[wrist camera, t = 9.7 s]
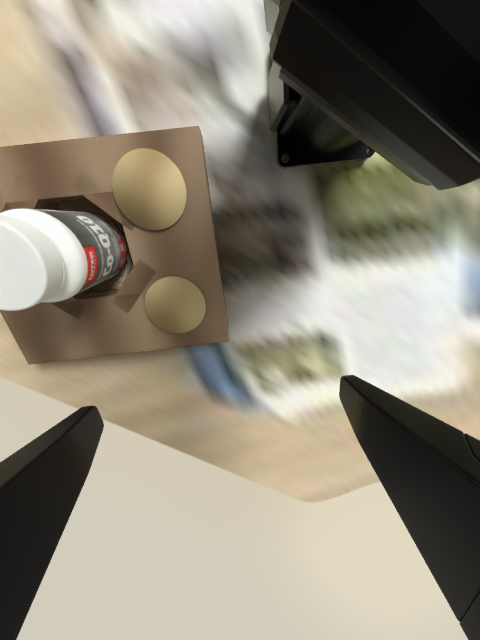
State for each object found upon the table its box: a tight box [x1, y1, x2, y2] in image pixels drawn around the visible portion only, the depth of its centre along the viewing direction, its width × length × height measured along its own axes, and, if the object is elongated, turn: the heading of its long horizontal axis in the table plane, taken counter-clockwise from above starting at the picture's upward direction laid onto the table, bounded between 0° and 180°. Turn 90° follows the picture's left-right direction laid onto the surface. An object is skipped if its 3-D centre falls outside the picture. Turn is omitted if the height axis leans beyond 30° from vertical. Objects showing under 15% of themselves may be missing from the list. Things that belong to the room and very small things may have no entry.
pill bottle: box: [0, 209, 127, 311], centre depth 14 cm, size 5×5×8 cm
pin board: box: [0, 126, 228, 364], centre depth 17 cm, size 16×14×2 cm
